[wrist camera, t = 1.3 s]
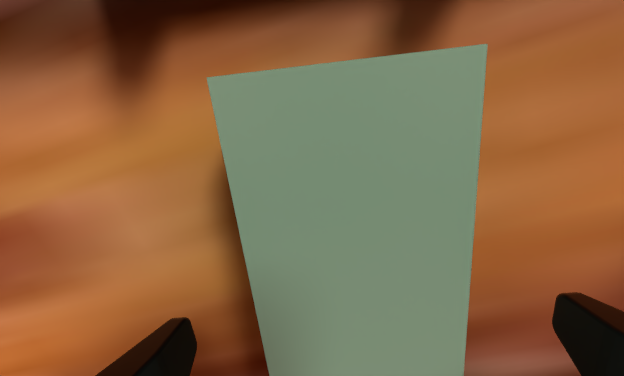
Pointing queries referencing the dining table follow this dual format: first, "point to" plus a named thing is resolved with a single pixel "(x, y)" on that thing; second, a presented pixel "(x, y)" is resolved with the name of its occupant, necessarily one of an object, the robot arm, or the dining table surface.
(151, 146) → the dining table surface
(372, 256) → the green board
